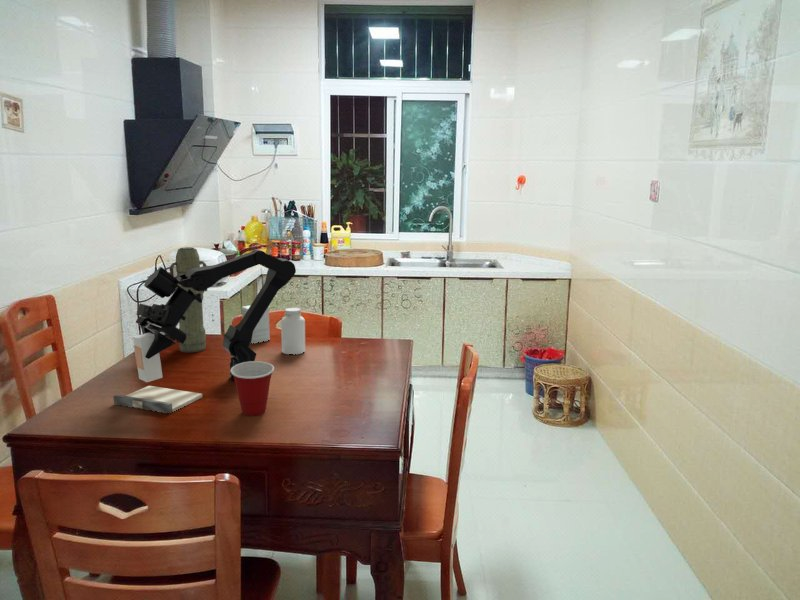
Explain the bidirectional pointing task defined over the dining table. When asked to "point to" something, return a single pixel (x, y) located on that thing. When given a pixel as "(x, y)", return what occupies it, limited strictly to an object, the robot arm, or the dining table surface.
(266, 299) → the robot arm
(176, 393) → the shelf board
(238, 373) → the plastic cup
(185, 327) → the thermos
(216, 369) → the dining table surface
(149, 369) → the grey carton
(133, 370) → the dining table surface
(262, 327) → the supplement box
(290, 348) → the pill bottle
